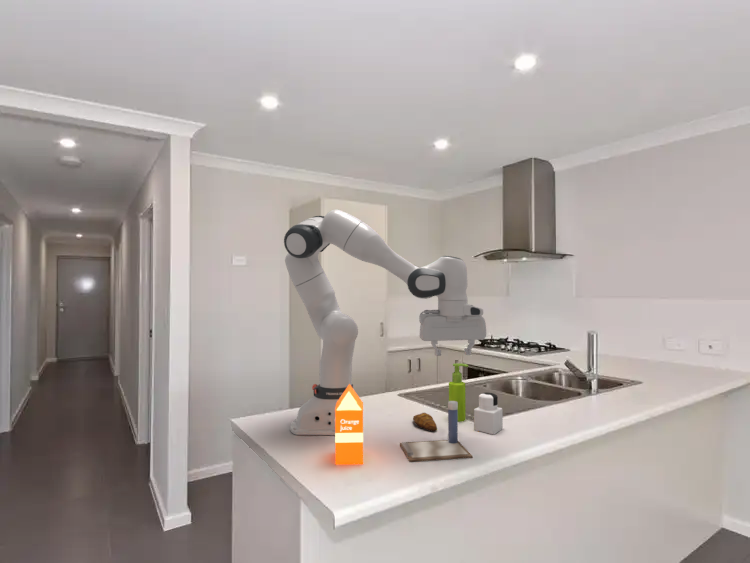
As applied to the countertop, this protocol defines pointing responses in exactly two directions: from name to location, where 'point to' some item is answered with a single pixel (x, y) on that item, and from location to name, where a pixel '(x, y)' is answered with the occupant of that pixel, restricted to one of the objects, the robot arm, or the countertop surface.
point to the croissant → (425, 422)
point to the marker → (452, 422)
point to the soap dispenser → (458, 392)
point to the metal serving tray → (434, 450)
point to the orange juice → (349, 429)
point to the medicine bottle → (488, 414)
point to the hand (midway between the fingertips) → (452, 355)
